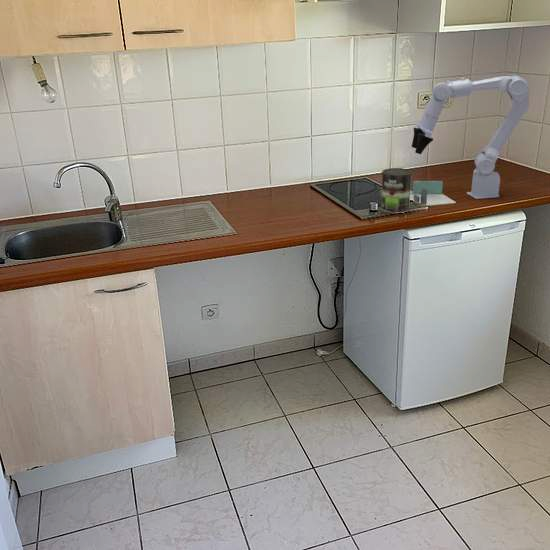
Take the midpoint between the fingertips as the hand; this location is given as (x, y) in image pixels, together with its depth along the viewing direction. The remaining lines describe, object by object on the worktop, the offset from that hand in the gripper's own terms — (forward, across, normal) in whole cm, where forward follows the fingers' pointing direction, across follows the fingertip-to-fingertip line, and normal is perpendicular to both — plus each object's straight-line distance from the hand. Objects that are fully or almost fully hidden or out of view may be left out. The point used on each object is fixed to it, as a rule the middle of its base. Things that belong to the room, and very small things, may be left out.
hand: (416, 150), depth 220 cm
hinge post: (+17, +1, +4) cm, 17 cm away
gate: (+14, +2, +10) cm, 17 cm away
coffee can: (+18, +20, -4) cm, 28 cm away
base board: (+14, +6, +9) cm, 18 cm away
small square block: (+15, +13, +6) cm, 21 cm away
